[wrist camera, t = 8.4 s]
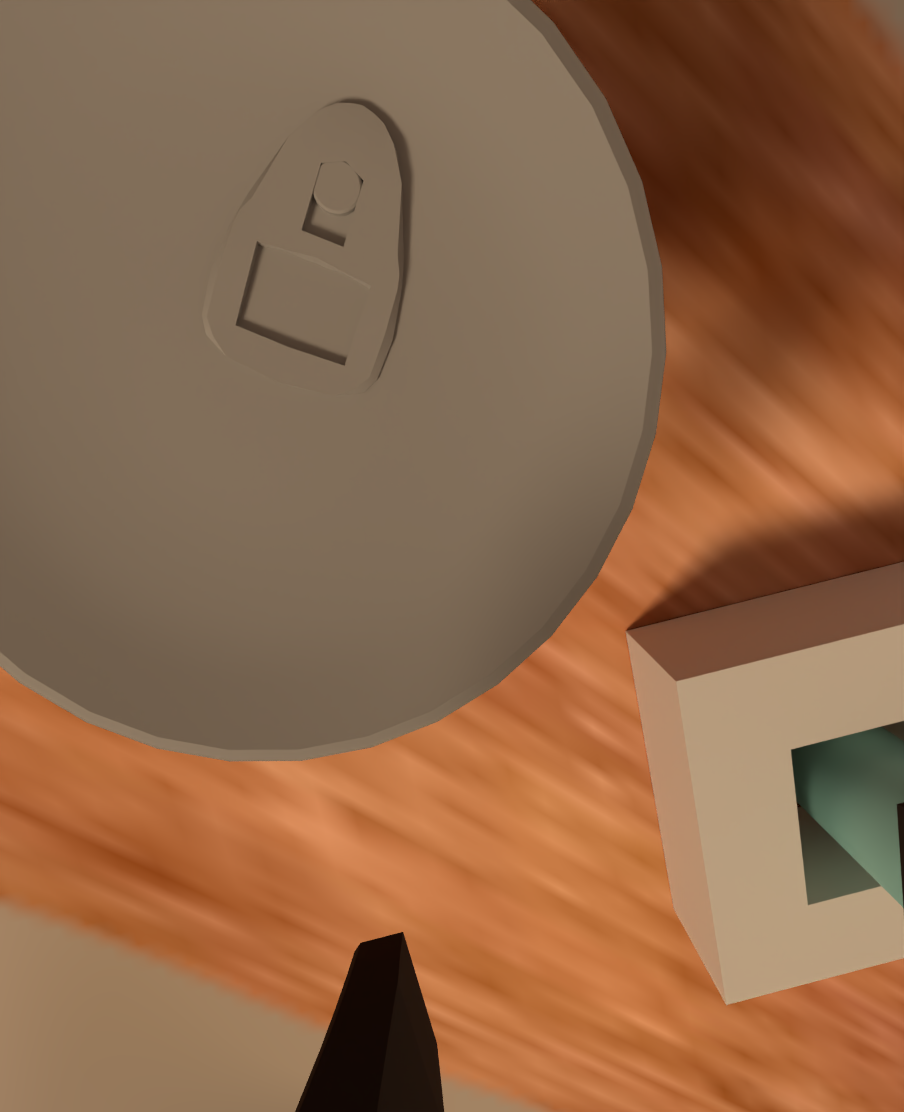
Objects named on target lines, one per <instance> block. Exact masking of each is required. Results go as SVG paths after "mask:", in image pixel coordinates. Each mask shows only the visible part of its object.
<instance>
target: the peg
mask: <svg viewBox="0 0 904 1112" xmlns="http://www.w3.org/2000/svg"><path fill="white" fill-rule="evenodd" d="M791 757H792V766H793V775H794V784H795V793H796V802H797V803H798V804H799V805H800V806H801V807H802V808H803V809H804V810H805V811H806V812H807V813H808V814H809V815H810V816H811V817H812V818H813V819H814V820H815V821H816V822H817V823H818V824H819V825H820V826H821V827H822V828H823V829H824V830H826V831H827V832H828V833H829V834H830V835H831V836H832V837H833V838H834V839H835V840H836V841H837V842H838V843H839V844H840V845H841V846H842V847H843V848H844V849H845V850H846V851H847V852H848V853H849V854H850V855H851V856H852V857H853V858H854V859H855V860H856V861H857V862H858V863H859V864H860V865H861V866H862V867H863V868H864V869H865V870H866V871H867V872H868V873H869V874H870V875H871V876H872V877H873V878H874V879H875V880H876V881H877V882H878V883H879V884H880V885H881V886H882V887H883V888H884V889H885V890H886V891H887V892H888V893H889V894H890V895H891V896H892V897H893V898H894V899H895V900H896V901H897V902H898V903H899V904H900V905H901V906H902V907H903V894H902V879H901V863H900V848H899V832H898V817H897V804H899V803H903V802H904V741H903V740H901V739H900V738H898V737H897V736H895V735H894V734H892V733H891V732H889V731H888V730H886V729H885V728H883V727H882V726H881V727H877V728H873V729H869V730H865V731H861V732H858V733H854V734H850V735H846V736H842V737H838V738H834V739H830V740H826V741H822V742H818V743H815V744H811V745H807V746H803V747H799V748H795V749H791Z"/></svg>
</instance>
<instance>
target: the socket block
mask: <svg viewBox="0 0 904 1112" xmlns="http://www.w3.org/2000/svg"><path fill="white" fill-rule="evenodd" d="M626 636H627V642H628V648H629V654H630V659H631V665H632V671H633V677H634V682H635V688H636V694H637V700H638V706H639V711H640V717H641V723H642V729H643V734H644V740H645V746H646V752H647V758H648V763H649V769H650V775H651V781H652V786H653V792H654V798H655V804H656V809H657V815H658V821H659V827H660V833H661V838H662V844H663V850H664V856H665V861H666V867H667V873H668V879H669V885H670V890H671V896H672V902H673V908H674V910H675V912H676V914H677V915H678V917H679V919H680V921H681V923H682V925H683V926H684V928H685V930H686V932H687V934H688V936H689V937H690V939H691V941H692V943H693V945H694V947H695V948H696V950H697V952H698V954H699V956H700V958H701V959H702V961H703V963H704V965H705V967H706V969H707V970H708V972H709V974H710V976H711V978H712V980H713V982H714V983H715V985H716V987H717V989H718V991H719V993H720V994H721V996H722V998H723V1000H724V1002H725V1004H726V1005H728V1004H732V1003H736V1002H739V1001H743V1000H747V999H751V998H755V997H758V996H762V995H766V994H770V993H773V992H777V991H781V990H785V989H789V988H792V987H796V986H800V985H804V984H807V983H811V982H815V981H819V980H822V979H826V978H830V977H834V976H838V975H841V974H845V973H849V972H853V971H856V970H860V969H864V968H868V967H871V966H875V965H879V964H883V963H887V962H890V961H894V960H898V959H902V958H904V909H903V907H902V906H901V905H900V904H899V903H898V902H897V901H896V900H895V899H894V898H893V897H892V896H891V895H890V894H889V893H888V892H887V891H886V890H885V889H884V888H883V887H882V886H881V885H880V884H879V883H878V882H877V881H876V880H875V879H874V878H873V877H872V876H871V875H870V874H869V873H868V872H867V871H866V870H865V869H864V868H863V867H862V866H861V865H860V864H859V863H858V862H857V861H856V860H855V859H854V858H853V857H852V856H851V855H850V854H849V853H848V852H847V851H846V850H845V849H844V848H843V847H842V846H841V845H840V844H839V843H838V842H837V841H836V840H835V839H834V838H833V837H832V836H831V835H830V834H829V833H828V832H827V831H826V830H824V829H823V828H822V827H821V826H820V825H819V824H818V823H817V822H816V821H815V820H814V819H813V818H812V817H811V816H810V815H809V814H808V813H807V812H806V811H805V810H804V809H803V808H802V807H798V808H797V802H796V793H795V784H794V775H793V766H792V757H791V749H795V748H799V747H803V746H807V745H811V744H815V743H818V742H822V741H826V740H830V739H834V738H838V737H842V736H846V735H850V734H854V733H858V732H861V731H865V730H869V729H873V728H877V727H881V726H882V727H883V728H885V729H886V730H888V731H889V732H891V733H892V734H894V735H895V736H897V737H898V738H900V739H901V740H903V741H904V562H900V563H896V564H892V565H888V566H884V567H880V568H876V569H872V570H868V571H864V572H860V573H856V574H852V575H848V576H844V577H840V578H836V579H832V580H828V581H824V582H820V583H816V584H812V585H808V586H804V587H800V588H796V589H792V590H788V591H784V592H780V593H776V594H772V595H768V596H764V597H760V598H756V599H752V600H748V601H744V602H740V603H736V604H732V605H728V606H724V607H720V608H716V609H712V610H708V611H704V612H700V613H696V614H692V615H688V616H684V617H680V618H676V619H672V620H668V621H664V622H660V623H656V624H652V625H648V626H644V627H640V628H636V629H632V630H628V631H626Z"/></svg>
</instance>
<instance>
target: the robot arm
mask: <svg viewBox="0 0 904 1112" xmlns="http://www.w3.org/2000/svg"><path fill="white" fill-rule="evenodd" d="M897 817H898V832H899V848H900V863H901V879H902V894H903V909H904V802H903V803H899V804H897ZM295 1112H444V1106H443V1095H442V1086H441V1077H440V1067H439V1058H438V1049H437V1042H436V1039H435V1036H434V1032H433V1029H432V1026H431V1023H430V1019H429V1016H428V1013H427V1009H426V1006H425V1003H424V1000H423V996H422V993H421V990H420V986H419V983H418V980H417V977H416V973H415V970H414V967H413V963H412V960H411V957H410V954H409V950H408V947H407V944H406V940H405V937H404V934H403V932H401V933H397V934H393V935H389V936H386V937H382V938H378V939H374V940H370V941H366V942H362V943H360V945H359V946H358V948H357V949H356V951H355V952H354V955H353V959H352V962H351V965H350V968H349V971H348V974H347V977H346V980H345V983H344V986H343V989H342V992H341V994H340V997H339V1000H338V1003H337V1006H336V1009H335V1011H334V1014H333V1017H332V1020H331V1022H330V1025H329V1028H328V1030H327V1033H326V1036H325V1038H324V1041H323V1044H322V1046H321V1049H320V1052H319V1054H318V1057H317V1059H316V1061H315V1064H314V1066H313V1069H312V1071H311V1074H310V1076H309V1079H308V1081H307V1084H306V1086H305V1089H304V1092H303V1094H302V1096H301V1098H300V1101H299V1104H298V1106H297V1108H296V1111H295Z"/></svg>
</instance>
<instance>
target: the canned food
mask: <svg viewBox="0 0 904 1112" xmlns="http://www.w3.org/2000/svg"><path fill="white" fill-rule="evenodd" d="M665 358H666V338H665V317H664V297H663V277H662V265H661V261H660V256H659V252H658V248H657V243H656V239H655V235H654V231H653V226H652V222H651V218H650V213H649V209H648V205H647V200H646V196H645V192H644V188H643V183H642V180H641V178H640V176H639V173H638V171H637V169H636V166H635V164H634V162H633V160H632V157H631V155H630V153H629V150H628V148H627V146H626V144H625V141H624V139H623V137H622V134H621V132H620V130H619V128H618V125H617V123H616V121H615V118H614V116H613V114H612V112H611V109H610V107H609V105H608V102H607V100H606V98H605V97H604V95H603V94H602V92H601V91H600V89H599V88H598V86H597V85H596V84H595V82H594V81H593V79H592V78H591V76H590V75H589V73H588V72H587V70H586V69H585V67H584V66H583V65H582V63H581V62H580V60H579V59H578V57H577V56H576V54H575V53H574V51H573V50H572V49H571V47H570V46H569V44H568V43H567V41H566V40H565V38H564V37H563V35H562V34H561V33H560V31H559V30H558V28H557V27H556V25H555V24H554V22H553V21H552V20H551V19H550V18H549V17H547V16H546V15H545V14H544V13H543V12H542V11H541V10H540V9H539V8H538V7H537V6H536V5H535V4H534V3H533V2H532V1H531V0H0V666H1V667H2V668H3V669H4V670H5V671H6V672H8V673H9V674H10V675H11V676H12V677H13V678H15V679H16V680H17V681H18V682H19V683H21V684H23V685H24V686H26V687H28V688H29V689H31V690H33V691H34V692H36V693H38V694H39V695H41V696H43V697H45V698H46V699H48V700H50V701H51V702H53V703H55V704H56V705H58V706H60V707H61V708H63V709H65V710H67V711H68V712H70V713H72V714H73V715H75V716H77V717H78V718H80V719H82V720H83V721H85V722H87V723H90V724H93V725H95V726H98V727H101V728H103V729H106V730H109V731H111V732H114V733H117V734H120V735H122V736H125V737H128V738H130V739H133V740H136V741H138V742H141V743H144V744H146V745H149V746H152V747H155V748H157V749H163V750H169V751H174V752H180V753H186V754H191V755H197V756H203V757H208V758H214V759H220V760H225V761H303V760H308V759H313V758H319V757H324V756H329V755H334V754H339V753H345V752H350V751H355V750H360V749H366V748H371V747H374V746H376V745H379V744H381V743H384V742H386V741H389V740H392V739H394V738H397V737H399V736H402V735H404V734H407V733H410V732H412V731H415V730H417V729H420V728H422V727H425V726H428V725H430V724H433V723H435V722H438V721H439V720H441V719H442V718H444V717H446V716H447V715H449V714H450V713H452V712H454V711H455V710H457V709H459V708H460V707H462V706H463V705H465V704H467V703H468V702H470V701H472V700H473V699H475V698H476V697H478V696H480V695H481V694H483V693H484V692H486V691H488V690H489V689H491V688H493V687H494V686H496V685H497V684H499V683H500V682H501V681H502V680H503V679H504V678H505V677H506V676H508V675H509V674H510V673H511V672H512V671H513V670H514V669H515V668H516V667H517V666H519V665H520V664H521V663H522V662H523V661H524V660H525V659H526V658H527V657H529V656H530V655H531V654H532V653H533V652H534V651H535V650H536V649H537V648H539V647H540V646H541V645H542V644H543V643H544V642H545V641H546V640H547V639H548V638H550V637H551V636H552V635H553V633H554V632H555V631H556V629H557V628H558V627H559V625H560V624H561V623H562V622H563V620H564V619H565V618H566V616H567V615H568V614H569V612H570V611H571V610H572V609H573V607H574V606H575V605H576V603H577V602H578V601H579V600H580V598H581V597H582V596H583V594H584V593H585V592H586V590H587V589H588V588H589V587H590V585H591V584H592V583H593V581H594V580H595V579H596V577H597V576H598V574H599V572H600V570H601V568H602V566H603V564H604V562H605V560H606V559H607V557H608V555H609V553H610V551H611V549H612V547H613V545H614V543H615V541H616V539H617V537H618V535H619V533H620V532H621V530H622V528H623V526H624V524H625V522H626V520H627V518H628V516H629V514H630V512H631V510H632V508H633V505H634V502H635V499H636V495H637V492H638V489H639V486H640V483H641V479H642V476H643V473H644V470H645V467H646V463H647V460H648V457H649V454H650V450H651V447H652V444H653V441H654V438H655V434H656V428H657V420H658V413H659V405H660V397H661V389H662V381H663V373H664V366H665Z"/></svg>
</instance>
